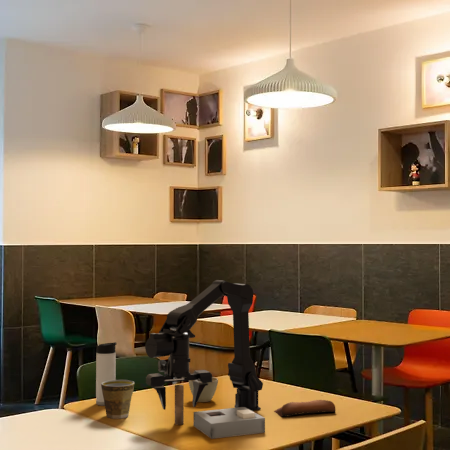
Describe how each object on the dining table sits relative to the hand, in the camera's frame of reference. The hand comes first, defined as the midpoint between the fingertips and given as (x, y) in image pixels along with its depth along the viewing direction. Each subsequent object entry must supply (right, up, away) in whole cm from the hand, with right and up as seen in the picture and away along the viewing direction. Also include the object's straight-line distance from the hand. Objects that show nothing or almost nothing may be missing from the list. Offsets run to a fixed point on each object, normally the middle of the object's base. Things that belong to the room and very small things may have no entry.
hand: (179, 408), depth 197 cm
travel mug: (-26, -6, +25) cm, 36 cm away
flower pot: (+6, -6, +29) cm, 31 cm away
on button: (+19, -1, -7) cm, 20 cm away
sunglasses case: (+38, -6, +13) cm, 40 cm away
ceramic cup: (-20, -5, +10) cm, 23 cm away
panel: (+14, -4, -6) cm, 16 cm away
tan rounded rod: (0, -5, 0) cm, 5 cm away
